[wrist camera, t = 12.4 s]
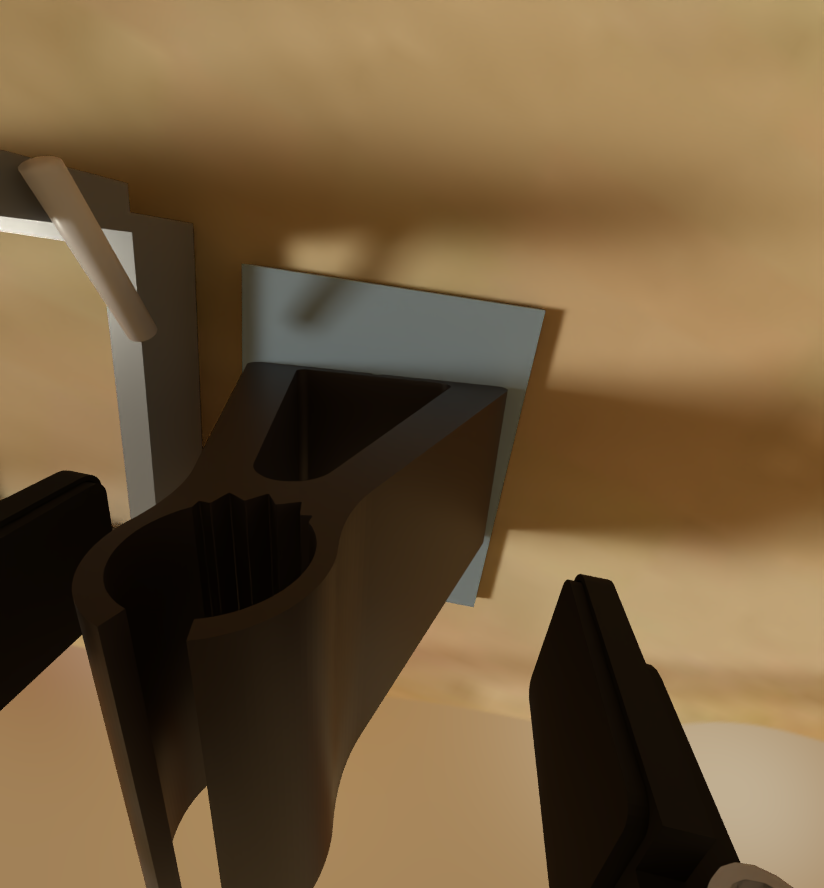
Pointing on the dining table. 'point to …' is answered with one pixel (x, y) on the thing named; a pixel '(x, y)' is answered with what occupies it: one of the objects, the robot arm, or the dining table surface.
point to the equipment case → (126, 308)
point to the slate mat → (395, 346)
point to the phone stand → (281, 604)
